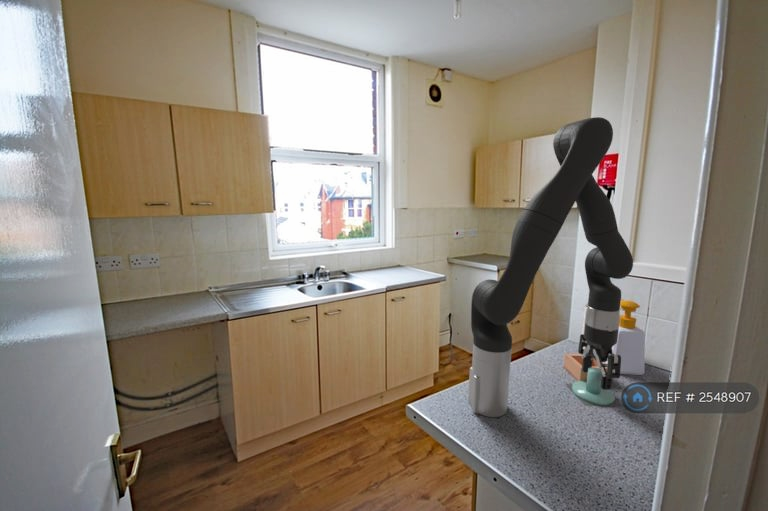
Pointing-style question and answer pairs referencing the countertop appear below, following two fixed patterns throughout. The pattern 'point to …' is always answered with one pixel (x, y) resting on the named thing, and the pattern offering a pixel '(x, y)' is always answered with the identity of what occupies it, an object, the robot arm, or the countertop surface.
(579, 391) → the lid
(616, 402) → the mat
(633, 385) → the countertop surface
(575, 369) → the dish
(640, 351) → the soap bottle
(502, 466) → the countertop surface
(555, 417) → the countertop surface
